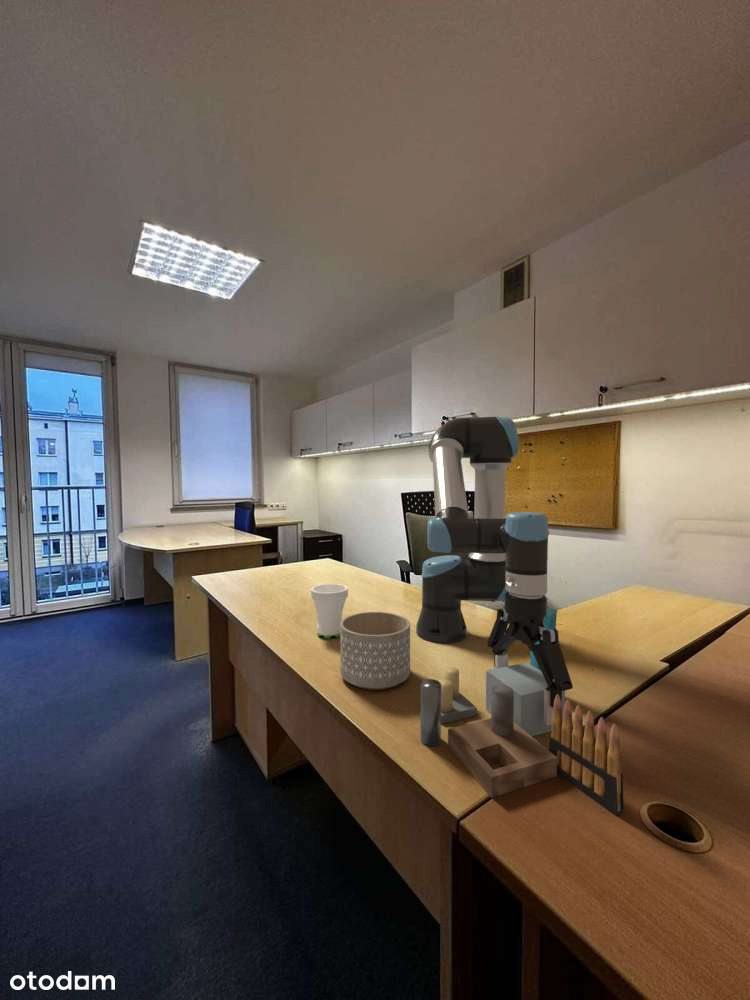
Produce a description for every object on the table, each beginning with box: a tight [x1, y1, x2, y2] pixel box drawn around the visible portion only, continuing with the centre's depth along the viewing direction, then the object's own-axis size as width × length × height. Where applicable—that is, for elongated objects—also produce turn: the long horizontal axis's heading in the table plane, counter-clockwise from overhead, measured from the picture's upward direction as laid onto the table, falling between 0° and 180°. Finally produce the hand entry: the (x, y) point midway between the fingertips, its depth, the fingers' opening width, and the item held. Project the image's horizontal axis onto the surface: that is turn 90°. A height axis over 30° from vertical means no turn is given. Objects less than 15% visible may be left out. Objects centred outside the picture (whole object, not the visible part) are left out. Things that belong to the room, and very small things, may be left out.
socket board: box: [447, 684, 558, 799], centre depth 63 cm, size 12×12×10 cm
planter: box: [339, 611, 411, 691], centre depth 92 cm, size 16×16×13 cm
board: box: [437, 666, 478, 725], centre depth 79 cm, size 8×8×6 cm
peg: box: [419, 678, 442, 748], centre depth 69 cm, size 4×4×10 cm
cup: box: [310, 583, 349, 640], centre depth 118 cm, size 11×11×14 cm
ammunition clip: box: [548, 694, 625, 817], centre depth 58 cm, size 11×2×12 cm, turn 29°
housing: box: [485, 662, 566, 737], centre depth 75 cm, size 10×10×8 cm
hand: (524, 702), depth 75 cm, fingers open, 13 cm apart
